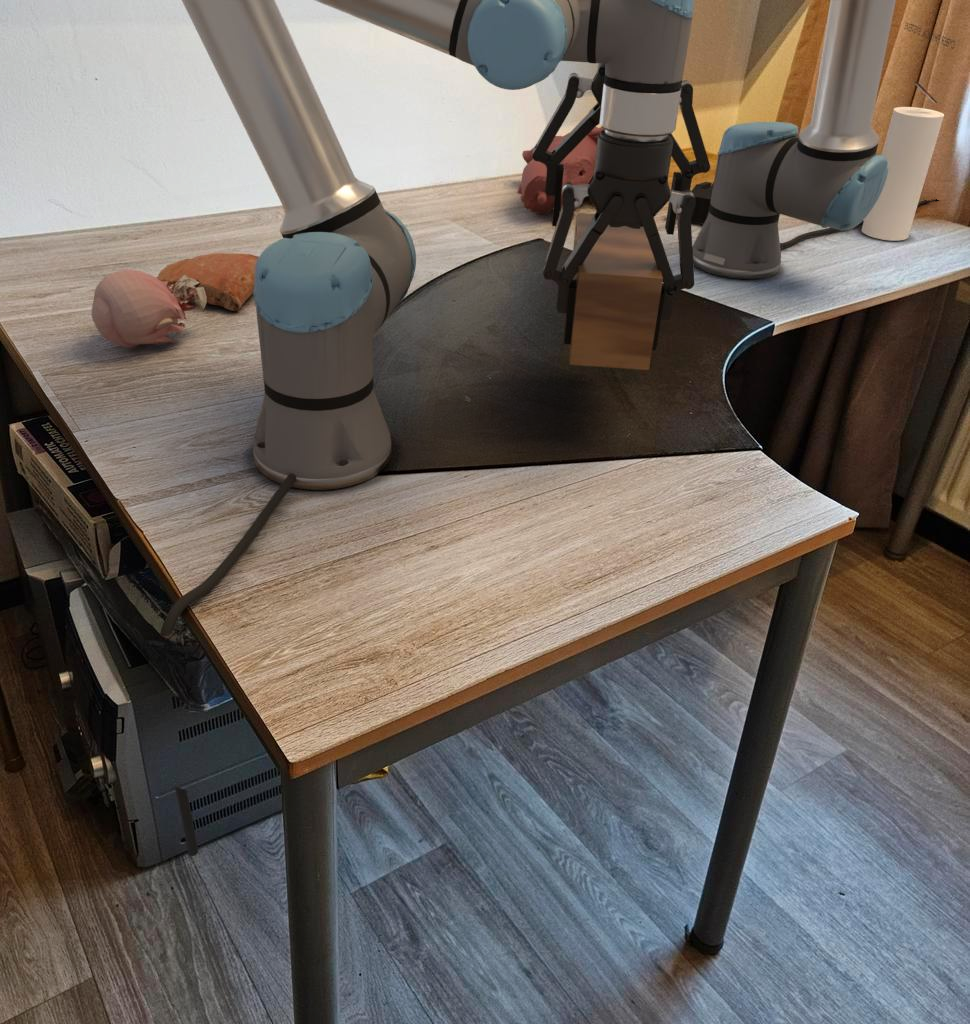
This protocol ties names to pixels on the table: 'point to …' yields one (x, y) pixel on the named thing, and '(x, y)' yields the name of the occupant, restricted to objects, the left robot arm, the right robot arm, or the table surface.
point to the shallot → (143, 307)
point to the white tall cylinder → (904, 167)
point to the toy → (702, 202)
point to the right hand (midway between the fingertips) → (612, 227)
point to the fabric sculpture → (575, 172)
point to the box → (615, 299)
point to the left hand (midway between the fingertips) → (609, 342)
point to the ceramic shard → (217, 277)
